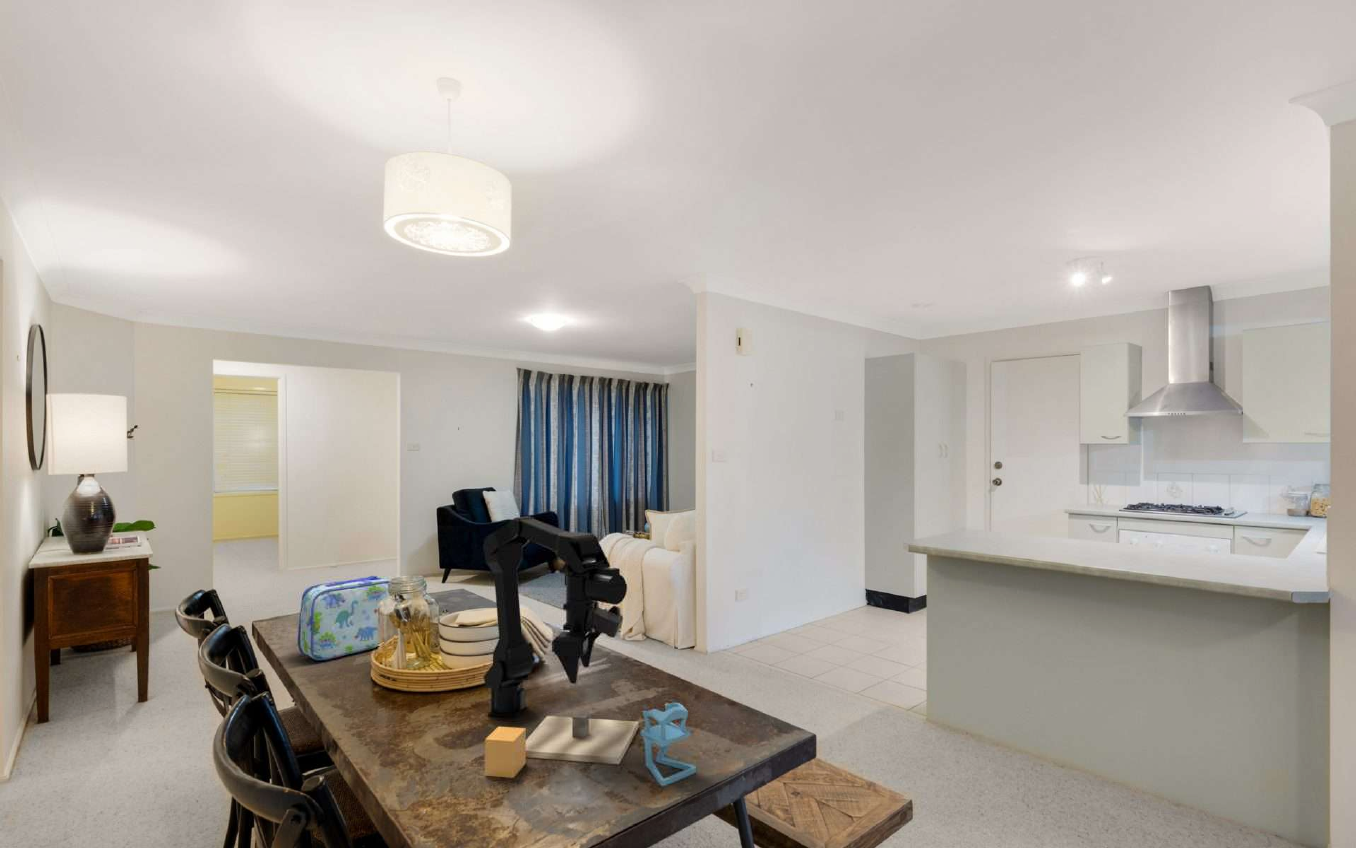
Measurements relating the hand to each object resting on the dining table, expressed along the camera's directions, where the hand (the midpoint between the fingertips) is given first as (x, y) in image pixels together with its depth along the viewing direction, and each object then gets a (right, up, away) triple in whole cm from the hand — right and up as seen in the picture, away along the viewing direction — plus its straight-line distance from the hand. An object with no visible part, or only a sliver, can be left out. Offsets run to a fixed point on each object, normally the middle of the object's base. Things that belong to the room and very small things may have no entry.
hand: (580, 675), depth 132 cm
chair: (+18, -12, -13) cm, 25 cm away
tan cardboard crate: (-12, -12, -13) cm, 21 cm away
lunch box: (-76, -16, +58) cm, 97 cm away
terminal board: (0, -13, -1) cm, 13 cm away
